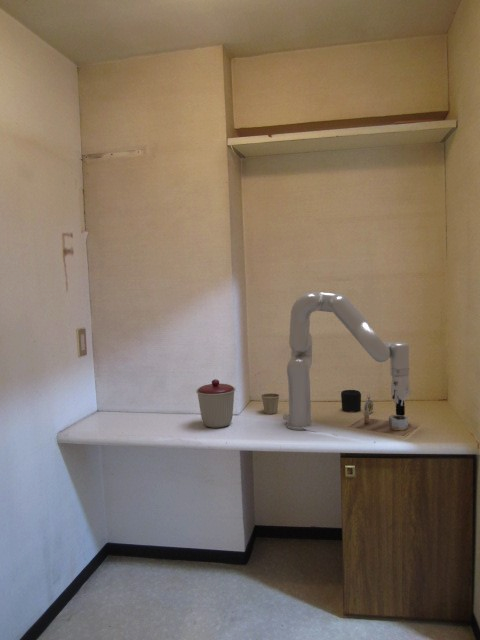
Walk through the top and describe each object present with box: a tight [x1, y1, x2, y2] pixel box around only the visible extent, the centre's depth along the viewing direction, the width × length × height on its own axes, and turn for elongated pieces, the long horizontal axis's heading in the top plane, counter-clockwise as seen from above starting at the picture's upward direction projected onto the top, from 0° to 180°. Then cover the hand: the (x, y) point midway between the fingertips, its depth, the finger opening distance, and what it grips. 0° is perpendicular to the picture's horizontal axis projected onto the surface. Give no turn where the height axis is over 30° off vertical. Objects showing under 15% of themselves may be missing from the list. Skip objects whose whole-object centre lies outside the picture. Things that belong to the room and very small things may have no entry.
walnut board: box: [347, 416, 417, 437], centre depth 208 cm, size 24×16×1 cm, turn 52°
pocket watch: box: [363, 394, 374, 415], centre depth 226 cm, size 8×8×10 cm
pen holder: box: [340, 389, 362, 413], centre depth 235 cm, size 9×9×10 cm
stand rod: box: [363, 410, 370, 424], centre depth 212 cm, size 2×2×5 cm
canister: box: [195, 378, 236, 429], centre depth 224 cm, size 18×18×21 cm
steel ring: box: [388, 414, 409, 429], centre depth 204 cm, size 7×7×4 cm
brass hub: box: [390, 427, 407, 431], centre depth 204 cm, size 7×7×3 cm
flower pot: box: [260, 392, 281, 415], centre depth 241 cm, size 9×9×9 cm
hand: (400, 414), depth 206 cm, fingers closed
